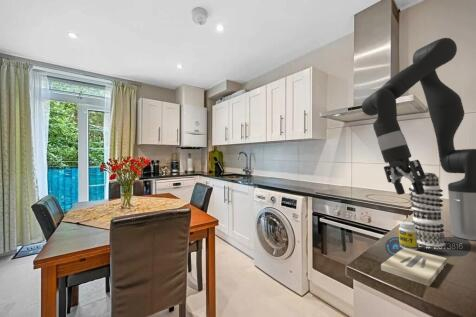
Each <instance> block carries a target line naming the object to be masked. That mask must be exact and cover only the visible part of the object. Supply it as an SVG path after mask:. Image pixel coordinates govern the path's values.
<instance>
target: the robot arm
mask: <svg viewBox="0 0 476 317" xmlns="http://www.w3.org/2000/svg"><path fill="white" fill-rule="evenodd" d="M457 52H458V46H457V43H456V41H455V40H453V39H452V38H450V37H441V38H439V39H436V40H434V41H431V42H430V43H429V44H426V45H424V46H423V47H420V48H419V49H416V50H415V52H414V53H413V56H412V64H410V65H409V66H407V67H405V68H404V69H402V70H400V71H399V72H397V73H396V74H395V75H393V76H392V77H391V78H390V79H388V80H387V81H386V82H385V83H384V84H383V85H382V86H381V87H380V88H379V89H377V90H375V91H374V92H373V93H372V94H370V95H369V96H367V97H366V98H365V99H364V100H363V101H362V103H361V110H362V112H363V113H364V114H365V115H366V116H367V115H368V116H377V118H376V119H375V121H374V122H373V124H372V125H373V127H372V128H373V130H374V133H375V136H376V138H377V144H378V147H379V150H380V153H381V155H382V158H383V161H384V163H386V164H387V163H388V165H386V166H383V170H384V174H385V176H386V180H387V182H388V183H391V184H393V186H394V189H395V192H396V194H397V195H399V196H400V195H404V194H406V190H405V188H404V186H403V184H402V178H403V177H404V178H406V179H407V180H409V181H410V182H411V185H413V188H414V191H415V193H416V194H417V195H420V194H424V193H425V192H424V188H423V185H422V183H421V181H422V180H423V179H425V178H426V176H425V173H426V172H425V171H424V169H423V167H422V164H421V162H420V160H419V159H414V160H410V158H412V153H411V151H410V148H409V145H408V143H407V140H406V138H405V135H404V133H403V131H402V129H401V126H400V125H399V121H398V113H397V112H398V111H397V99H398V98H400V97H401V96H403V95H405V94H406V92H408V91H409V90H410V89H411V88H413V87H414V86H415V85H416V84H417V83H420V84H421V88H422V91H423V94H424V97H425V100H426V104H427V109H428V113H429V116H430V119H431V122H432V123H431V124H432V125H433V126H432V127H433V130H434V133H435V134H434V135H435V138H436V143H437V151H438V152H437V153H438V157H439V162H440V166H441V168H442V170H443V171H444V172H446V173H447V174H464V177H463V178H462V179H460V180H457V181H454V182H453V181H452V182H450V183H448V184H447V190H448V192H447V193H448V204H449V217H450V218H449V220H450V234H451V236H454V237H456V238H460V239H464V240H468V241H469V240H471V241H476V148H465V149H464V148H463V149H455V143H454V139H455V135H456V133H457V131H458V129H459V127H460V126H461V124H462V122H463V120H464V118H465V110H464V106H463V101H462V98H461V96H460V95H459V93H457V92H456V91H454V90H453V89H452V88H450V87H449V86H447V85H446V84H445V83H444V82H442V81H441V79H440V77H439V76H438V74H437V71H436V70H437V69H438V68H440V67H442V66H443V65H446V64H447V63H450V61H452V60H453V59H454V58H455V56H456V55H457ZM418 173H420V176H419V175H418ZM413 177H414V178H413Z"/></svg>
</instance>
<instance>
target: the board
mask: <svg viewBox="0 0 476 317" xmlns="http://www.w3.org/2000/svg"><path fill="white" fill-rule="evenodd" d="M447 260H448V259H447V257H443V256H440V255H435V254H431V253H426V252H424V251H423V252H422V251H419V250H411V249H407V248H401V249H400V250H398V251H397V252H396V253H394V254H393V255H392V256H391V257H389V258H388V259H387V260H385V261H383V262H382V263H381V264H380V270H381V271H384V272H386V273H389V274H392V275H394V276H398V277H400V278H403V279H406V280H409V281H412V282H416V283H418V284H421V285H425V286H426V287H430V286H431V285H432V284H433V282H435V280H436V278H437V277H438V275H439V274H440V273H441V272H442V271H441V270H444V268H445V267H446V265H447V264H448V262H447ZM444 266H445V267H444Z"/></svg>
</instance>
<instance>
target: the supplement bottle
mask: <svg viewBox="0 0 476 317" xmlns="http://www.w3.org/2000/svg"><path fill="white" fill-rule="evenodd" d="M398 241H399V242H398V243H399V247H400V248H401V249H403V248H407V249H411V250H415V251H417V250H418V243H417V232H416V230H415V224H414V223H412V222H410V221H400V222H399V227H398Z"/></svg>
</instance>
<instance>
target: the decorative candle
mask: <svg viewBox="0 0 476 317" xmlns="http://www.w3.org/2000/svg"><path fill="white" fill-rule="evenodd" d="M417 173H418V175H419V176H420V173H419V172H417ZM424 173H425V176H426V178H425V179H423V180H422V181H421V183H422V185H423V188H424V192H425V193H424V194H420V195H417V194H416V193H415V191H414V188H413V185H412V184H411V185H410V187H409V188H408V190H409V192H410V193H409V196H410V197H409V200H410V201H411V202H410V205H411V209H412V213H413V215H412V222H411V223H414V224H415V228H414V229H415V230H416V232H417V244H420V245H422V246H428V247H434V248H436V247H438V248H440V247H445V245H446V243H445V241H446V240H445V234H444V231H445V230H444V224H443V219H442V212H443V209H442V207H444V204H442V203H443V202H444V200H443V199H440V197H443V196H444V194H442V193H443V192H444V190H443V189H442V188H441V186H440V179H439V178H440V177H439V176H437V174H436V173H434V172H424ZM413 178H414V177H413Z"/></svg>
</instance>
